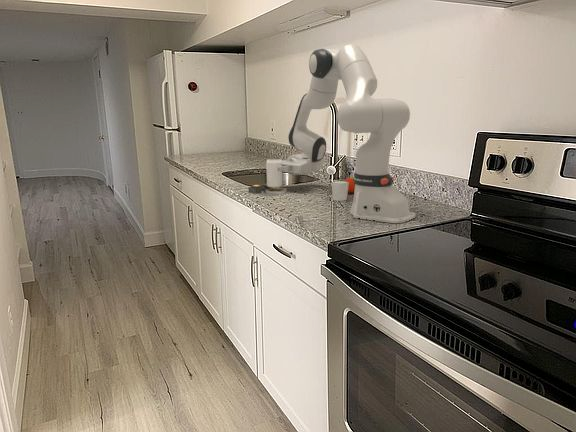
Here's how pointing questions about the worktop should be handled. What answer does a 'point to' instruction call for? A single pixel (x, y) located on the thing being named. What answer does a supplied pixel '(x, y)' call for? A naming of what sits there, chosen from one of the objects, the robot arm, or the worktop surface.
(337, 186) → the white cup
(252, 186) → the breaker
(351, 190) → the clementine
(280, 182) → the can
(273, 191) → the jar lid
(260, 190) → the panel
